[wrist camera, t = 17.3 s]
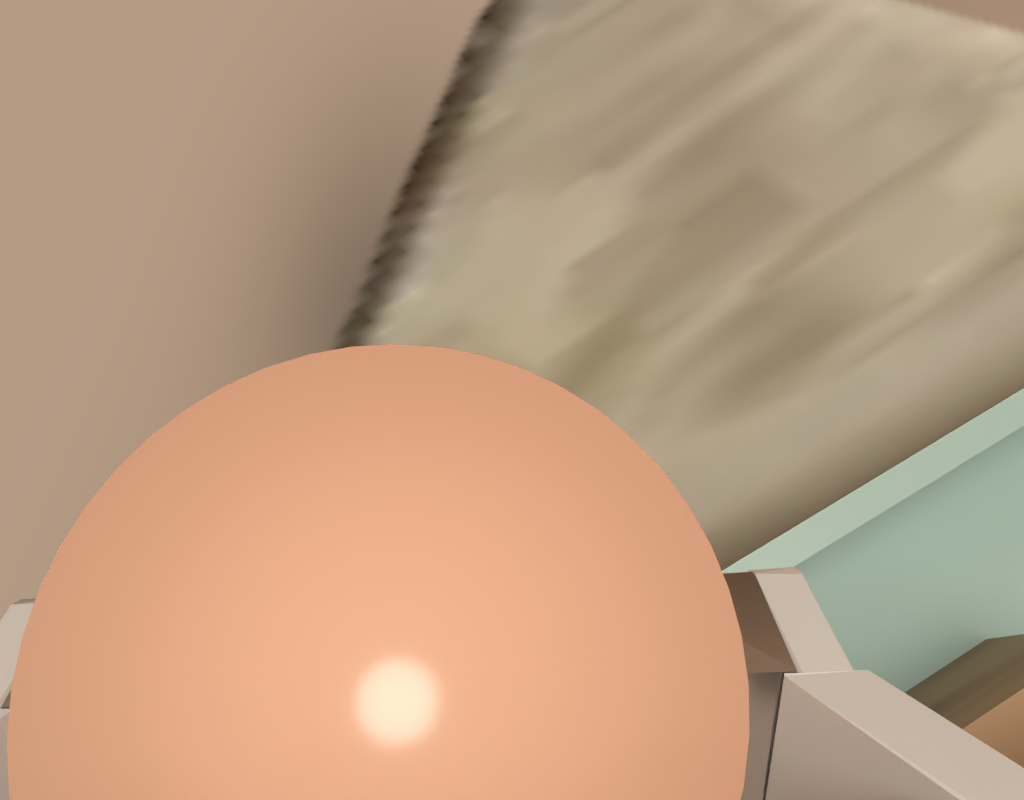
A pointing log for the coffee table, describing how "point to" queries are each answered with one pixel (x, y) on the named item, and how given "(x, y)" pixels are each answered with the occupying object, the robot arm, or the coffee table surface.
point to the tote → (920, 552)
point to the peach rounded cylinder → (383, 603)
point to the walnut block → (983, 694)
